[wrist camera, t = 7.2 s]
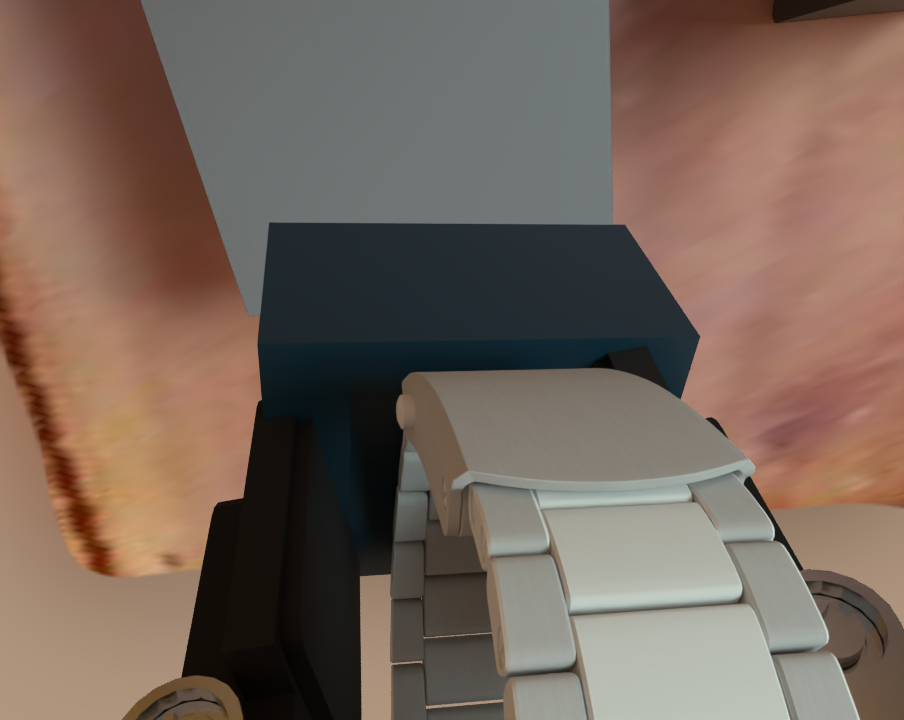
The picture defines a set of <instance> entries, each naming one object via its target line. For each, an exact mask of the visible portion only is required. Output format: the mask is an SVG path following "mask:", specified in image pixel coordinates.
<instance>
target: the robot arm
mask: <svg viewBox="0 0 904 720" xmlns="http://www.w3.org/2000/svg"><path fill="white" fill-rule="evenodd" d="M608 360H609V361H604V362H599V363H593V368H604V369H613V370H618V371H622V372H626V373H630V374H633V375H636V376H639V377H641V378H644V379H646V380H649V381H651V382H653V383H655V384H657V385H659V386H660V387H662V388H664V389H665V390H667V391H668V392H670V390H669V388H668V386H667V384H666V382H665V380H664V378H663V377H662V375H661V373H660V371H659V369H658V367H657V365H656V363H655V361H654V359H653V357H652V356H651V354H650V352H649V350H648V348H647V346H641V347H636V348H631V349H626V350H621V351H615V352H610V353H608ZM670 393H671V392H670ZM705 419H706V420H707V421H708V422H710V423H711V424H712V425H713V426H714V427H715V428H717V429H718V430H719V431H720V432H721V433H722V434H723V435H724V436H725V437H727V435H726V434H725V432H724V430H723V428H722V427H721V426H720V424H719V423H718V422H717V420H715V419H714V418H712V417H710V418H705ZM727 438H728V437H727ZM743 485H744V486H745V487H746V488H747V489H748V491H749V492H750V493H751V494H752V496H753V497H754V498H755V499H756V501H757V502H758V503H759V505H760V506H761V507H762V509H763V510H764V511H765V513H766V514H767V516H768V517H769V519H770V520H771V522H772V524H773V526H774V530H775V536H774V539H773V541H778V542H780V543H781V544H783V545H784V546H785V548H786V549H787V551H788V552H789V554H790V556H791V557H792V559H793V561H794V563H795V564H796V566H797V568H798V570H799V572H800V573H801V575H802V577H803V579H804V581H805V583H806V585H807V587H808V589H809V591H810V593H811V595H812V597H813V599H814V601H815V603H816V605H817V607H818V610H819V612H820V614H821V616H822V618H823V620H824V622H825V625H826V627H827V630H828V634H829V640H828V643H827V644H826V645H824V646H823V647H822V648H820V649H819V650H817V651H815V652H818V651H828V652H830V653H832V654H833V655H834V656H835V657H836V658H837V660H838V662H839V664H840V666H841V669H842V672H843V674H844V677H845V679H846V682H847V685H848V687H849V690H850V693H851V696H852V698H853V701H854V704H855V706H856V709H857V712H858V715H859V718H860V720H904V629H903V626H902V624H901V622H900V621H899V619H898V618H897V616H896V614H895V613H894V611H893V610H892V608H891V607H890V605H889V604H888V603H887V602H886V601H884V600H883V599H882V598H881V597H880V596H879V595H878V594H877V593H876V592H875V591H874V590H873V589H871V588H869V587H867V586H866V585H864V584H862V583H860V582H858V581H857V580H855V579H853V578H850V577H847V576H844V575H841V574H838V573H835V572H831V571H822V570H811V569H808V570H803V568H802V566H801V564H800V563H799V561H798V559H797V557H796V556H795V554H794V552H793V550H792V549H791V547H790V545H789V544H788V542H787V540H786V538H785V537H784V535H783V533H782V531H781V530H780V528H779V526H778V524H777V523H776V521H775V519H774V517H773V516H772V514H771V512H770V510H769V509H768V507H767V505H766V503H765V502H764V500H763V498H762V496H761V495H760V493H759V491H758V489H757V488H756V486H755V484H754V482H753V481H752V479H751V477H750V476H749V477H747V478H746V479H745V480H744V484H743ZM360 642H361V641H360V564H359V561H358V558H357V555H356V552H355V549H354V543H353V538H352V532H351V527H350V533H349V530H348V527H347V524H346V521H345V518H344V515H343V512H342V509H341V506H340V502H339V499H338V496H337V493H336V490H335V487H334V484H333V481H332V478H331V475H330V472H329V469H328V465H327V462H326V459H325V456H324V453H323V450H322V447H321V444H320V441H319V438H318V435H317V431H316V428H315V425H314V422H313V419H312V418H310V419H304V420H299V421H296V418H295V415H294V414H290V415H285V416H280V417H274V418H269V419H264V418H263V406H262V400H260V401H259V402H258V405H257V409H256V416H255V423H254V429H253V436H252V443H251V450H250V456H249V463H248V470H247V477H246V483H245V490H244V497H243V498H241V499H236V500H230V501H224V502H218V503H217V505H216V506H215V507H214V511H213V514H212V518H211V523H210V528H209V533H208V539H207V544H206V549H205V555H204V560H203V565H202V571H201V576H200V581H199V587H198V592H197V597H196V603H195V608H194V614H193V619H192V624H191V629H190V635H189V640H188V645H187V651H186V656H185V661H184V667H183V672H182V677H181V678H178V679H175V680H173V681H170V682H168V683H166V684H164V685H161V686H159V687H157V688H155V689H154V690H152V691H151V692H150V693H148V694H147V695H146V696H145V697H143V698H142V699H140V700H139V701H138V702H137V703H136V704H135V705H134V706H133V707H132V708H131V710H130V711H129V712H128V713H127V714H126V715H125V717H124V718H123V719H122V720H361V645H360V644H361V643H360ZM803 653H806V652H803ZM791 654H794V653H791ZM779 655H782V654H779ZM771 656H772V655H771Z"/></svg>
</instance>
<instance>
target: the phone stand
mask: <svg viewBox="0 0 904 720" xmlns="http://www.w3.org/2000/svg"><path fill="white" fill-rule="evenodd" d="M894 11H904V0H774V5H773V12H772V16H773V20H774V22H775V23H781V22H792V21H802V20H812V19H822V18H833V17H843V16H853V15H863V14H873V13H884V12H894Z"/></svg>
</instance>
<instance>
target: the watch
mask: <svg viewBox="0 0 904 720" xmlns="http://www.w3.org/2000/svg"><path fill="white" fill-rule="evenodd" d="M699 339H700V336H699V334H698V333H697V331H696V330H695V328H694V327H693V325H692V324H691V322H690V321H689V319H688V318H687V316H686V315H685V313H684V312H683V310H682V309H681V307H680V306H679V304H678V303H677V301H676V300H675V299H674V297H673V296H672V294H671V293H670V291H669V290H668V288H667V287H666V285H665V284H664V282H663V281H662V279H661V278H660V276H659V275H658V273H657V272H656V270H655V269H654V267H653V266H652V264H651V263H650V261H649V260H648V258H647V257H646V255H645V254H644V252H643V251H642V250H641V248H640V247H639V245H638V244H637V242H636V241H635V239H634V238H633V236H632V235H631V233H630V232H629V230H628V229H627V227H626V226H625V225H579V224H428V223H276V222H269V229H268V239H267V250H266V260H265V271H264V281H263V292H262V302H261V312H260V323H259V333H258V356H259V369H260V381H261V393H262V406H263V418H264V419H269V418H274V417H280V416H285V415H290V414H294V415H295V418H296V421H299V420H304V419H310V418H312V419H313V422H314V425H315V428H316V431H317V435H318V438H319V441H320V444H321V447H322V450H323V453H324V456H325V459H326V462H327V465H328V469H329V472H330V475H331V478H332V481H333V484H334V487H335V490H336V493H337V496H338V499H339V502H340V506H341V509H342V512H343V515H344V518H345V521H346V524H347V527H348V530H349V533H350V527H351V532H352V538H353V543H354V549H355V552H356V555H357V558H358V561H359V564H360V576H368V575H369V576H370V575H384V574H385V575H386V574H391V589H390V595H391V598H392V600H391V634H390V635H391V636H390V661H391V662H392V663H397V662H411V661H422V663H423V665H422V664H421V663H412V664H411V663H410V664H398V665H392V666H391V720H860V718H859V715H858V712H857V709H856V706H855V704H854V701H853V698H852V696H851V693H850V690H849V687H848V685H847V682H846V679H845V677H844V674H843V672H842V669H841V666H840V664H839V662H838V660H837V658H836V657H835V656H834V655H833V654H832V653H830V652H828V651H818V652H815V651H817V650H819V649H820V648H822V647H823V646H824V645H826V644H827V643H828V640H829V634H828V630H827V627H826V625H825V622H824V620H823V618H822V616H821V614H820V612H819V610H818V607H817V605H816V603H815V601H814V599H813V597H812V595H811V593H810V591H809V589H808V587H807V585H806V583H805V581H804V579H803V577H802V575H801V573H800V572H799V570H798V568H797V566H796V564H795V563H794V561H793V559H792V557H791V556H790V554H789V552H788V551H787V549H786V548H785V546H784V545H783V544H781V543H780V542H778V541H773V539H774V536H775V530H774V526H773V524H772V522H771V520H770V519H769V517H768V516H767V514H766V513H765V511H764V510H763V509H762V507H761V506H760V505H759V503H758V502H757V501H756V499H755V498H754V497H753V496H752V494H751V493H750V492H749V491H748V489H747V488H746V487H745V486H744V485H743V484H744V480H745V479H746V478H747V477H749V476H751V475H752V474H753V473H754V471H755V466H754V464H753V463H752V462H751V461H750V460H749V459H748V458H747V457H746V456H745V455H744V454H743V453H742V452H741V451H740V450H739V449H738V448H737V447H736V446H735V445H734V444H733V443H732V442H731V441H730V440H729V439H728V438H727V437H725V436H724V435H723V434H722V433H721V432H720V431H719V430H718V429H717V428H715V427H714V426H713V425H712V424H711V423H710V422H708V421H707V420H706V419H705V418H704V417H702V416H701V415H700V414H699V413H698V412H696V411H695V410H694V409H692V408H691V407H690V406H688V405H687V404H686V403H684V402H683V401H682V400H680V399H681V396H682V393H683V390H684V386H685V383H686V380H687V377H688V374H689V370H690V367H691V364H692V361H693V358H694V354H695V351H696V348H697V345H698V342H699ZM641 346H647V348H648V350H649V352H650V354H651V356H652V357H653V359H654V361H655V363H656V365H657V367H658V369H659V371H660V373H661V375H662V377H663V378H664V380H665V382H666V384H667V386H668V388H669V390H670V392H671V393H670V392H668V391H667V390H665V389H664V388H662V387H660V386H659V385H657V384H655V383H653V382H651V381H649V380H646V379H644V378H641V377H639V376H636V375H633V374H630V373H626V372H622V371H618V370H613V369H604V368H593V363H599V362H604V361H609V360H608V353H610V352H615V351H621V350H626V349H631V348H636V347H641ZM421 597H422V600H421ZM487 632H492V634H479V635H466V636H453V637H439V638H425V639H424V637H435V636H447V635H461V634H475V633H487ZM423 636H424V637H423ZM803 652H806V653H803ZM791 653H794V654H791ZM779 654H782V655H779ZM771 655H772V656H771ZM564 672H566V673H564ZM552 673H555V674H552ZM499 699H503V702H499V703H488V704H478V705H465V706H454V707H442V708H431V709H426V705H427V706H430V705H441V704H452V703H464V702H476V701H487V700H499Z"/></svg>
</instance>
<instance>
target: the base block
mask: <svg viewBox="0 0 904 720" xmlns="http://www.w3.org/2000/svg"><path fill="white" fill-rule="evenodd" d="M140 1H141V4H142V7H143V9H144V12H145V15H146V18H147V21H148V24H149V27H150V30H151V33H152V36H153V39H154V42H155V45H156V48H157V51H158V53H159V56H160V59H161V62H162V65H163V68H164V71H165V74H166V77H167V80H168V83H169V86H170V89H171V92H172V94H173V97H174V100H175V103H176V106H177V109H178V112H179V115H180V118H181V121H182V124H183V127H184V130H185V133H186V135H187V138H188V141H189V144H190V147H191V150H192V153H193V156H194V159H195V162H196V165H197V168H198V171H199V174H200V177H201V179H202V182H203V185H204V188H205V191H206V194H207V197H208V200H209V203H210V206H211V209H212V212H213V215H214V218H215V220H216V223H217V226H218V229H219V232H220V235H221V238H222V241H223V244H224V247H225V250H226V253H227V256H228V259H229V262H230V264H231V267H232V270H233V273H234V276H235V279H236V282H237V285H238V288H239V291H240V294H241V297H242V300H243V303H244V305H245V308H246V311H247V314H248V317H250V316H255V315H260V312H261V302H262V292H263V281H264V271H265V260H266V250H267V239H268V229H269V222H276V223H428V224H579V225H613V191H612V136H611V81H610V27H609V0H140Z"/></svg>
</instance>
